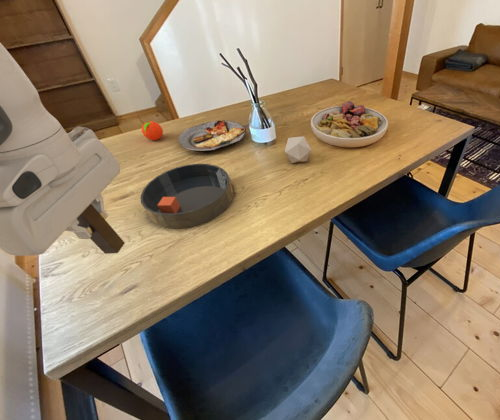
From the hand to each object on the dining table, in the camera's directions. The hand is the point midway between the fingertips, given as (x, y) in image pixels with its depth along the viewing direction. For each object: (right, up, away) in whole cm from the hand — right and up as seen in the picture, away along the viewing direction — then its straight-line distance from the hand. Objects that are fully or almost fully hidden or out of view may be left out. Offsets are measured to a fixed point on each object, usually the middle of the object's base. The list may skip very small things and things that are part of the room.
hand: (95, 227), depth 46 cm
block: (-4, +3, +30) cm, 30 cm away
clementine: (-28, +30, +62) cm, 74 cm away
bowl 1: (0, +6, +34) cm, 35 cm away
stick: (0, -4, +4) cm, 5 cm away
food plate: (-5, +31, +62) cm, 69 cm away
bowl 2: (+48, +34, +65) cm, 88 cm away
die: (+29, +20, +50) cm, 61 cm away
